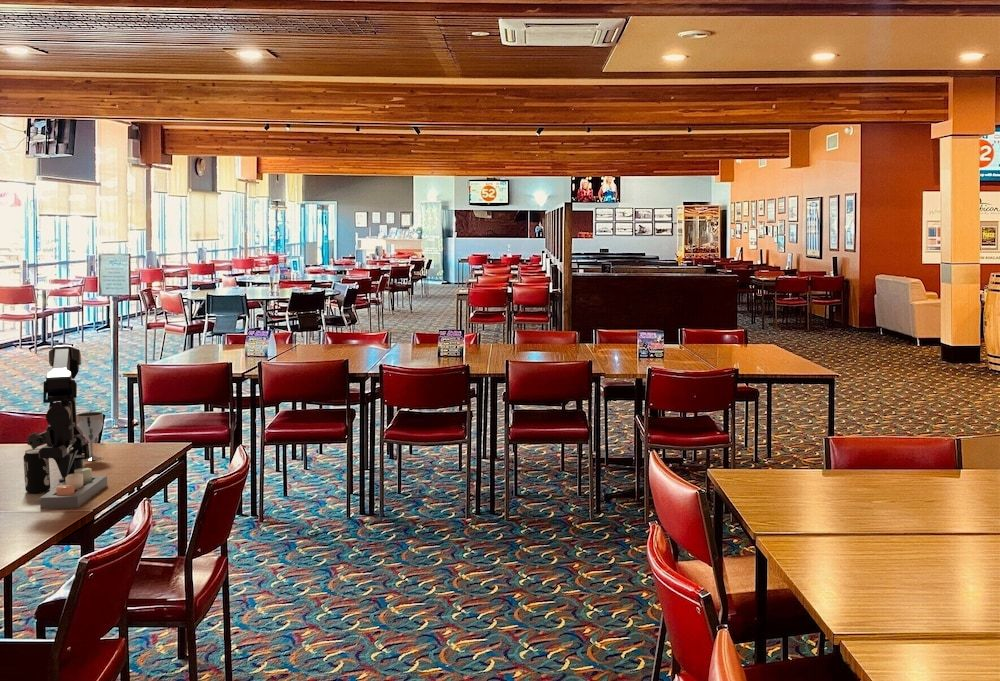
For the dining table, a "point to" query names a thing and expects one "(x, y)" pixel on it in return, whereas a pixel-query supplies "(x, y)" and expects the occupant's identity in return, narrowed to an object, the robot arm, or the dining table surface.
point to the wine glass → (90, 429)
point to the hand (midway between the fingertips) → (64, 477)
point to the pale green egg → (85, 473)
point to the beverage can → (36, 472)
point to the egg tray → (75, 499)
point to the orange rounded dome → (65, 490)
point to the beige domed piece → (75, 480)
